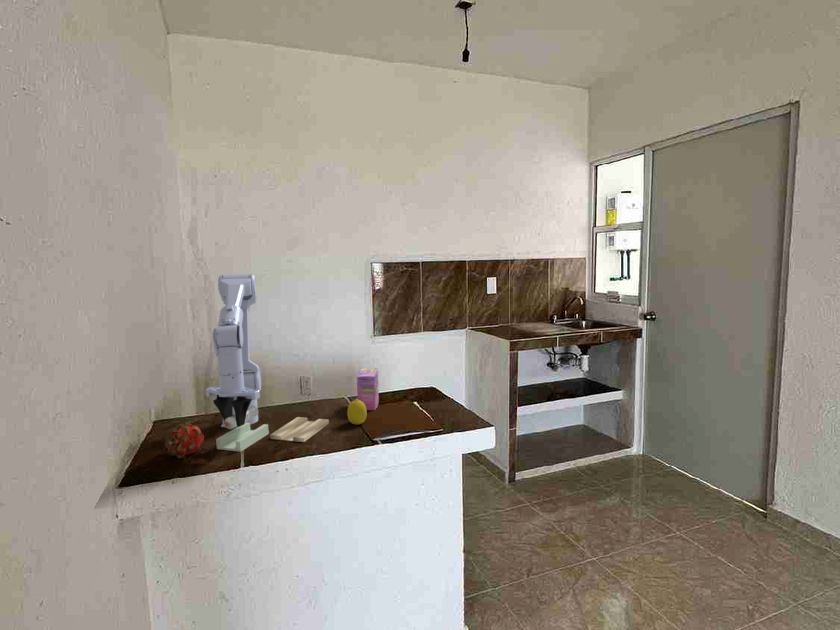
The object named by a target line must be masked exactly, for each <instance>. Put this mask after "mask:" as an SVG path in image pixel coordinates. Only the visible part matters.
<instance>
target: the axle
mask: <svg viewBox="0 0 840 630" xmlns="http://www.w3.org/2000/svg"><path fill="white" fill-rule="evenodd" d="M258 408H259V407H258V406H257V407H256V406H251V407H249V408H248V410H247V413H246V418H245V422H246V421H248V420H250V419H252V418H254V417H256V416H257V415H258V416H259V409H258ZM224 424H225V426H226V427H225V428H226V429H228V430H234V429H235V428H237V423H236V415H235V414H234V415H232V416H230V417H228V418H226V419H225V421H224Z"/></svg>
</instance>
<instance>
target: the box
mask: <svg viewBox="0 0 840 630" xmlns="http://www.w3.org/2000/svg"><path fill="white" fill-rule="evenodd" d="M356 391H357V393H356V396H357V398H356V399H358V400H360V401H362V402H363V403H364V404H365V406H366V410H367V411H375V410H377V409H378V406H379V400H380V399H379V398H380V397H379V395H380V393H379V368H377V367H362V368H360V369H359V372H358V374H357V376H356ZM376 408H377V409H376Z"/></svg>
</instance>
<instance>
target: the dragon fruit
mask: <svg viewBox="0 0 840 630" xmlns="http://www.w3.org/2000/svg"><path fill="white" fill-rule="evenodd" d="M164 438H165V442H164V447H163V451H164V452H166V453H167V455H168V456H175V457H176V458H178V459H181V458H183V457H184V459H186V458H187V455H191V454H195V453H199V452H200V446H201V445H202V443H204V441H205V436H204V433H202V431H201V429H200V428H199V426H197V425H196V424H195V425H193V424H192V423H189V422H188V423H187V422H186V423H185V424H184V425H182V426H181V425H179V426H177V427H175V428H173V431H171V432H168V433H165V434H164Z"/></svg>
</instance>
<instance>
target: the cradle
mask: <svg viewBox="0 0 840 630" xmlns="http://www.w3.org/2000/svg"><path fill="white" fill-rule="evenodd" d="M267 435H270V431H269V424H267V423H264V424H262V425H260V426H259V427H257V428H255V429H251V424H250V423H245V424H244V425H242V426H240V427H235V428H233V429H231V430H230V431H228V432H226V433H225V434H223V435H221V436H219V437H217V438H215V442H216V443H215V445H216V450H224V451H233V452H240V453H241V452H243V451H244V450H246V449H248V448H249V447H250V446H252V445H254V444H255V443H257V442H259V440H261V439H263V438H264V437H266V436H267Z"/></svg>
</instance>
